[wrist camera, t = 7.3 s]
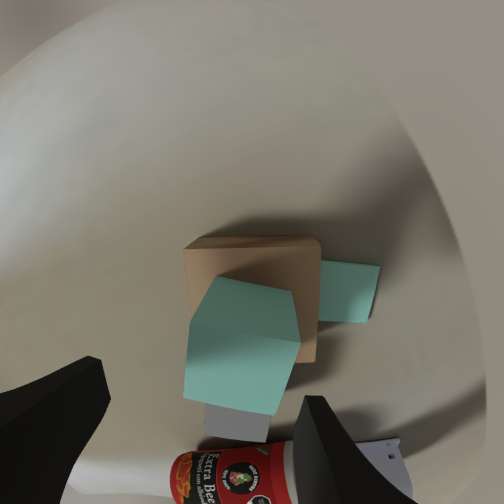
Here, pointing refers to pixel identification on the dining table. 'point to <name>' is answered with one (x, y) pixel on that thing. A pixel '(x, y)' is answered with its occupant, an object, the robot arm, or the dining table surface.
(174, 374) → the dining table surface
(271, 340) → the teal block
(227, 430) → the grey block
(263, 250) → the walnut base
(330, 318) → the swatch
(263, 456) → the canned food
